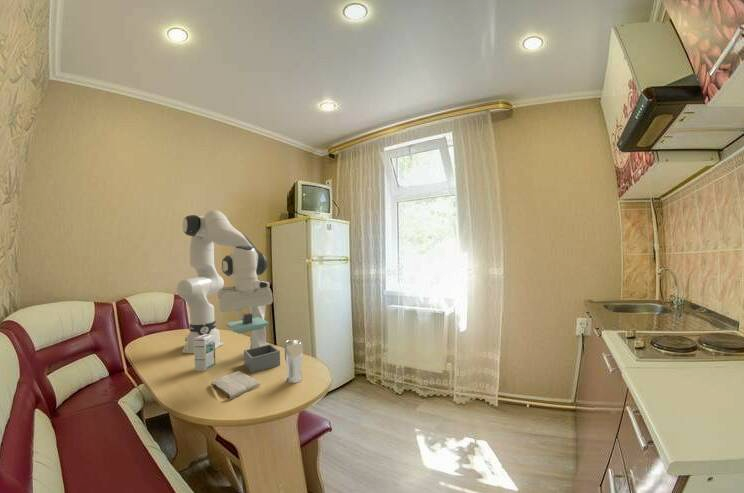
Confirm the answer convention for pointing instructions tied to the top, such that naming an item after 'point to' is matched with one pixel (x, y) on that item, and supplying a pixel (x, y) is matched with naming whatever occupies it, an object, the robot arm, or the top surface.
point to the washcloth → (235, 384)
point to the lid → (247, 324)
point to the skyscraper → (259, 335)
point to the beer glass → (294, 360)
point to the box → (261, 358)
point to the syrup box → (204, 352)
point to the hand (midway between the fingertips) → (247, 318)
